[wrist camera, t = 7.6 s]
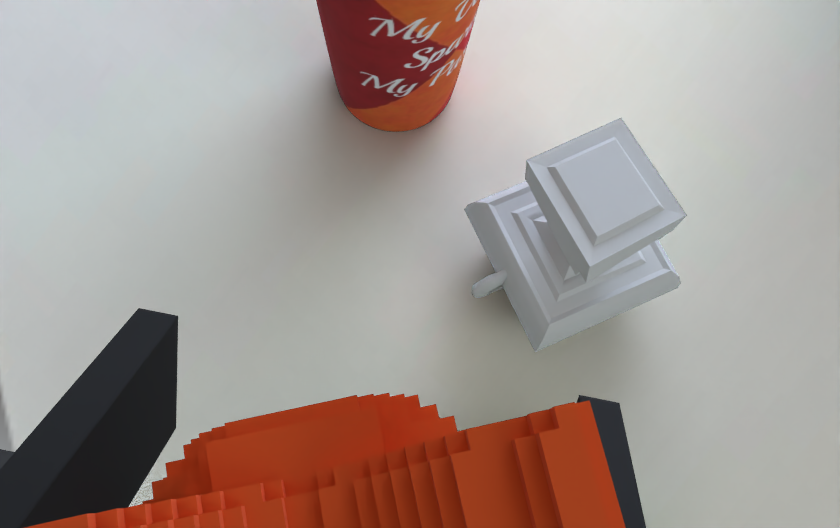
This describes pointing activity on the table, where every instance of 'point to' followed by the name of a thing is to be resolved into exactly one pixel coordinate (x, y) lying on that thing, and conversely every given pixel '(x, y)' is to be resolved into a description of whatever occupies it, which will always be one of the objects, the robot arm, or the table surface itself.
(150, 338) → the robot arm
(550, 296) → the stamp
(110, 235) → the table surface
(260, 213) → the table surface
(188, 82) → the table surface
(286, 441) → the toy animal
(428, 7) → the paper cup
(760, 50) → the table surface
